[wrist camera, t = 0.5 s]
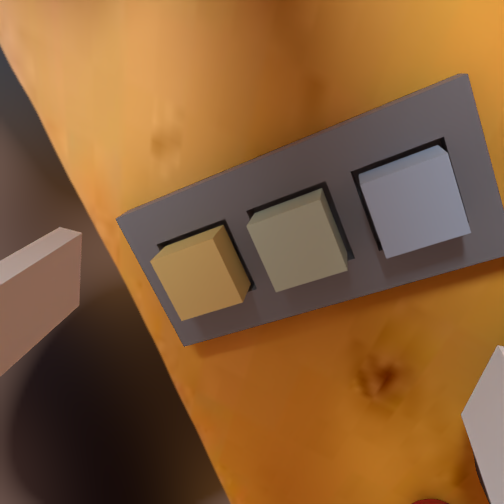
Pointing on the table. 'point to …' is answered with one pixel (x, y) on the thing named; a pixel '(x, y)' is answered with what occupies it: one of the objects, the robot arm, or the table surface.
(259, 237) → the sage button
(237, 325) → the button board
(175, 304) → the ochre button
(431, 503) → the red oval body
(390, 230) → the blue button
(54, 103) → the table surface
